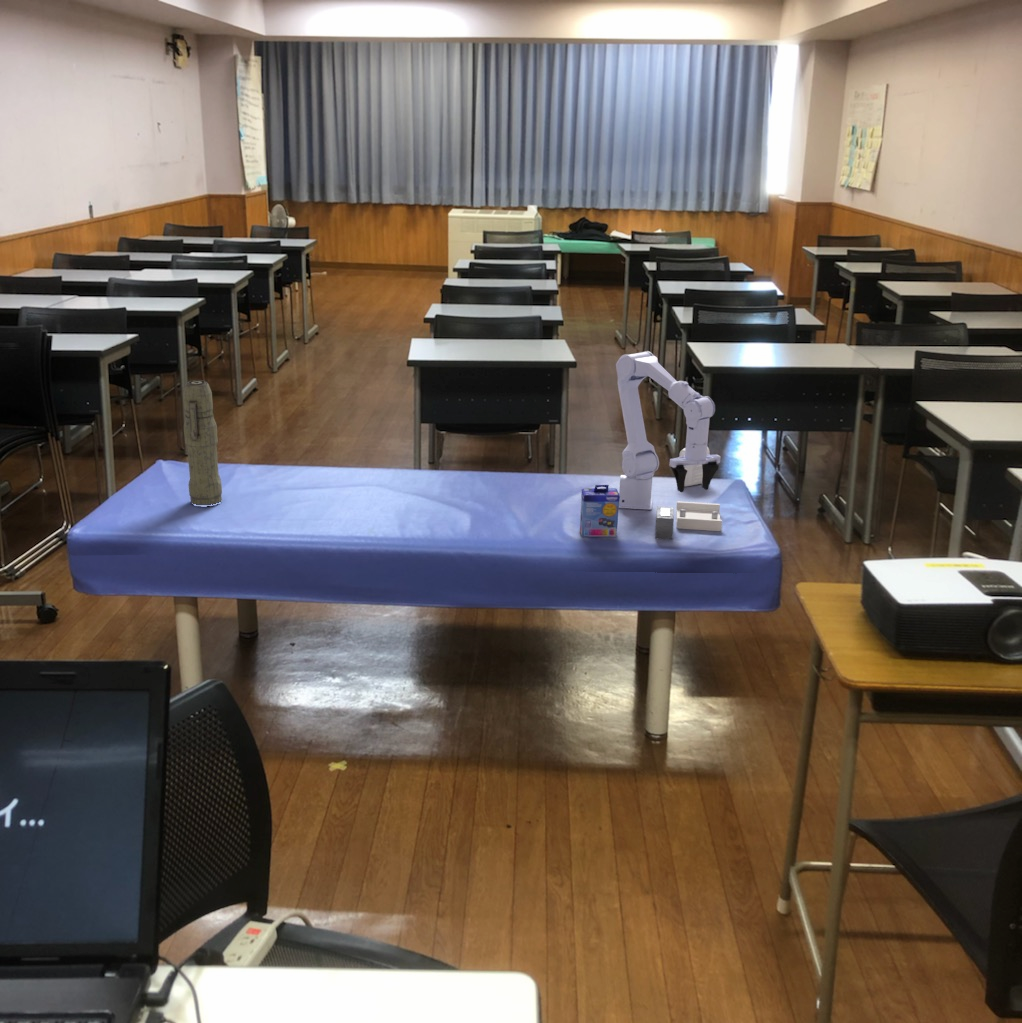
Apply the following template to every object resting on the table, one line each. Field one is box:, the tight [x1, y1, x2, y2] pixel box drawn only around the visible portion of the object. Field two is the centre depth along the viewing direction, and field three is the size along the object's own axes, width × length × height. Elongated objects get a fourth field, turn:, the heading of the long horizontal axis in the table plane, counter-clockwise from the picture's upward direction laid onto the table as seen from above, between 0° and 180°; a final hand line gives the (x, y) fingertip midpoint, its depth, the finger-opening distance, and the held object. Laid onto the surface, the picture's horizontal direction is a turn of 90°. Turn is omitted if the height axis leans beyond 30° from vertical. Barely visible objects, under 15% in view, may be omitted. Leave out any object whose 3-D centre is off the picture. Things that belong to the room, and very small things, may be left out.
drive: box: [654, 506, 675, 540], centre depth 291 cm, size 4×9×6 cm, turn 172°
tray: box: [675, 500, 723, 532], centre depth 301 cm, size 12×14×3 cm
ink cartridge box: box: [579, 484, 620, 538], centre depth 288 cm, size 10×6×14 cm, turn 95°
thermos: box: [182, 379, 223, 505], centre depth 302 cm, size 9×12×35 cm
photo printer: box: [678, 446, 711, 488], centre depth 330 cm, size 10×4×12 cm, turn 123°
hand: (692, 489), depth 294 cm, fingers open, 7 cm apart
